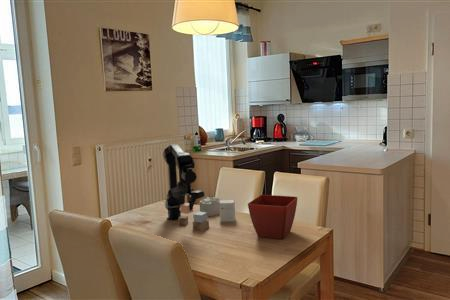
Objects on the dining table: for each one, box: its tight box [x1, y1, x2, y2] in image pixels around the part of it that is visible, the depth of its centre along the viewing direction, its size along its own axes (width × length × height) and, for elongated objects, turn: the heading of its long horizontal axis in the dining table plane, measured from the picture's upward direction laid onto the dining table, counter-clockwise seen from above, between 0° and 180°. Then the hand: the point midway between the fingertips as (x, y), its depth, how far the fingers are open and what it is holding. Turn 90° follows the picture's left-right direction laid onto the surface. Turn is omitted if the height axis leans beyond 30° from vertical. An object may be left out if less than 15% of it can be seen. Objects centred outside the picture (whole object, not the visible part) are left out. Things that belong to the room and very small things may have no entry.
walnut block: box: [177, 215, 189, 226], centre depth 213 cm, size 4×4×4 cm
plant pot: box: [247, 194, 298, 240], centre depth 190 cm, size 19×19×17 cm
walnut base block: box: [192, 219, 210, 232], centre depth 204 cm, size 6×6×4 cm
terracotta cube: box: [180, 202, 194, 215], centre depth 197 cm, size 4×4×4 cm
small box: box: [219, 199, 236, 223], centre depth 215 cm, size 8×6×10 cm
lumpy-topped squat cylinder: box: [199, 196, 223, 217], centre depth 231 cm, size 10×13×9 cm
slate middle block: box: [192, 211, 208, 223], centre depth 204 cm, size 5×5×4 cm
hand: (186, 210), depth 197 cm, fingers closed on terracotta cube, 4 cm apart
